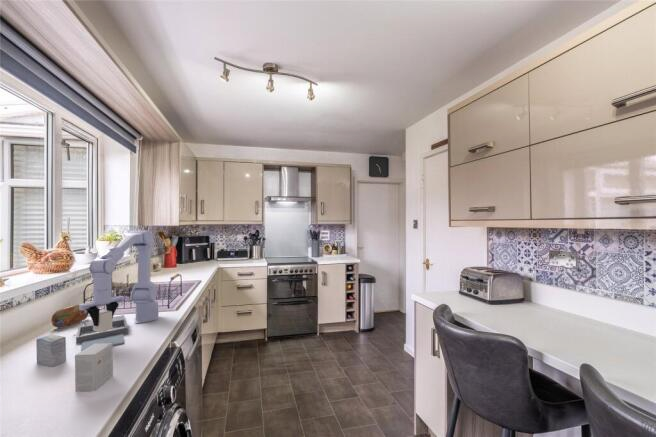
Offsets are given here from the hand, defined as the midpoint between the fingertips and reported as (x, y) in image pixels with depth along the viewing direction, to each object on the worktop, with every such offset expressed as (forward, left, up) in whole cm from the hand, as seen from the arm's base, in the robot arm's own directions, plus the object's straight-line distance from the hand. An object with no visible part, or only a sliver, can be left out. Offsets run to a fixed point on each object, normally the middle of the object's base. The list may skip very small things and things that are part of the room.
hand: (102, 323), depth 115 cm
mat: (0, 0, -8) cm, 8 cm away
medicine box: (+14, +8, -8) cm, 18 cm away
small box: (+2, +34, -8) cm, 36 cm away
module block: (0, 0, -2) cm, 2 cm away
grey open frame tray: (0, -20, -8) cm, 21 cm away
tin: (+12, -38, -8) cm, 40 cm away
